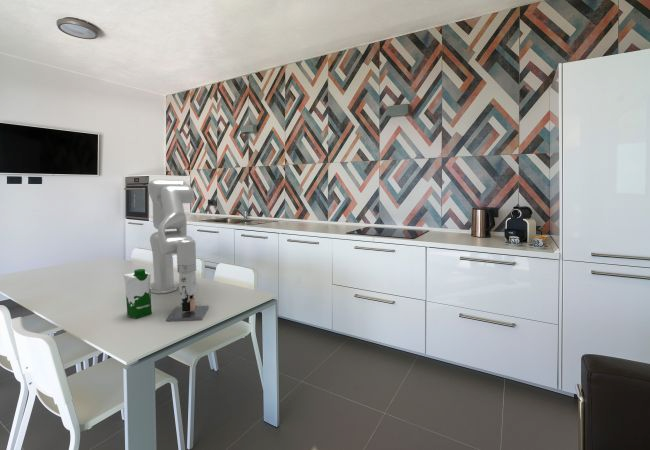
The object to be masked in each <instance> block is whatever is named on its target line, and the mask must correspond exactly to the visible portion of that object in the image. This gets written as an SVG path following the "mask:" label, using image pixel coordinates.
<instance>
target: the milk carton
mask: <svg viewBox="0 0 650 450" xmlns="http://www.w3.org/2000/svg"><path fill="white" fill-rule="evenodd" d="M123 278H124V283H125V298H126V315H127V316H128V315H129V317H131V318H133V319H135V320H136V319H140V318H143V317H145V316H149V315H151V314H153V313H152V312H153V311H152V310H153V309H152V295H151V294H152V292H151V287H150V283H151V273H149V272H147V271H146V269H144V268H137V269H135V270H134V272H130V273H125V274H123Z"/></svg>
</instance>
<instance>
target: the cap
mask: <svg viewBox="0 0 650 450" xmlns="http://www.w3.org/2000/svg"><path fill="white" fill-rule="evenodd" d="M189 302H190V311H193V310H194V309H195V306H196V301H195V297H194V298H189ZM190 311H184V312H190Z"/></svg>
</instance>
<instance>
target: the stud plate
mask: <svg viewBox="0 0 650 450" xmlns="http://www.w3.org/2000/svg"><path fill="white" fill-rule="evenodd" d="M209 308H210V306H209V305H208V304H207V305H195V309H194V310H193V311H190V312H184V311H182V305H181V306H175V308H174V309H173V310H172V311H171V312H170V313H169V314H168V316H167V317H166V318H165V321H166V322H180V321H181V322H184V321H190V322H191V321H202V320H203V318H204V316H205V314H206V313H207V312H208V310H209Z"/></svg>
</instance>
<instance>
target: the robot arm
mask: <svg viewBox="0 0 650 450" xmlns="http://www.w3.org/2000/svg"><path fill="white" fill-rule="evenodd" d="M147 190H148V191H147V192H148V195H149V197H150V199H151V202H152V224H153V225H152V226H153V227H154V229H156V230H157V231H156V232H153V233H152V234H151V235H150V237H149V243H150V247H151V252H152V265H153V268H152V269H153V282H150V290H151V294H158V295H159V294H168V293H172V292H175V291H177V290H178V291H179V293H178V294H179V296H180V299H181V306H182V311H190V302H189V298H194V299H195V292H196V291H197V289H198V285H197V273H196V272H197V254H196V253H197V252H196V249H197V248H196V247H197V246H196V241H195V239H193V237H192V236H190V235H189V236H188V235H187V231H188V230H187V225H188V224H187V216H186V213H185V209H184V205H183V204H191V203H193V202H194V199H195V192H194V189H193V188H192V187H191V185H190V184H189V183H187V181H186V180H183V179H182V180H181V179H153V180H149V182H148V184H147ZM175 229H176V230H175ZM173 255H176V266H177V270H176V272H177V273H179V275H178V276H179V278H178V286H177V285H175V278H174V274H175V273H174V257H173Z"/></svg>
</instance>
